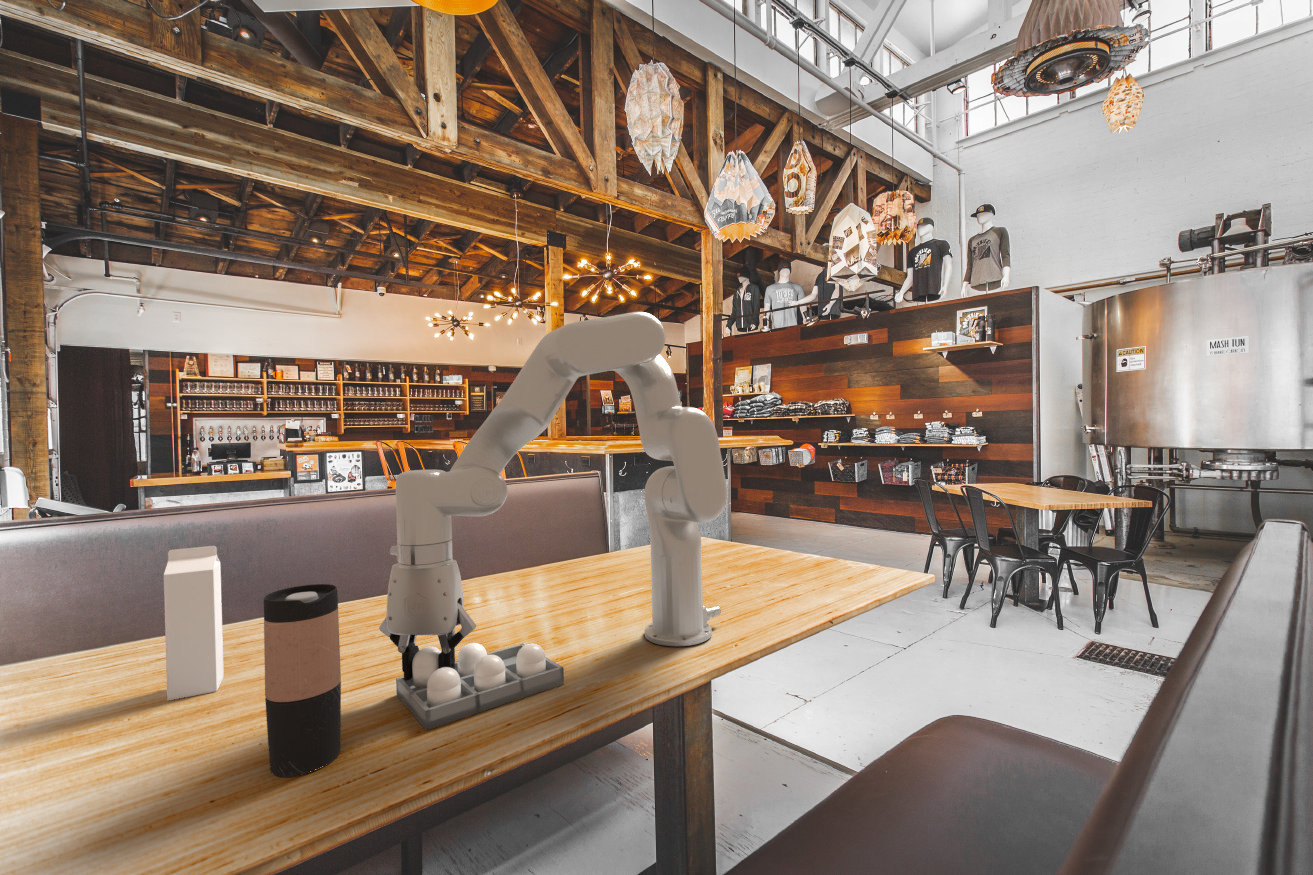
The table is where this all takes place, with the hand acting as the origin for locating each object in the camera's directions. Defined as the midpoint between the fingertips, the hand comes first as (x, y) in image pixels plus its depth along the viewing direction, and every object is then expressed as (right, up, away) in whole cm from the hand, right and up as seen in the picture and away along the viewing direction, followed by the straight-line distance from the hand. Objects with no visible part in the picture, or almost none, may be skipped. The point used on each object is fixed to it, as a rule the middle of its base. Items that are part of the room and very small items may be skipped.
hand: (429, 675), depth 84 cm
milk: (-38, -4, +4) cm, 39 cm away
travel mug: (-8, -3, -16) cm, 18 cm away
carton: (+7, -3, +2) cm, 8 cm away
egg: (0, -1, 0) cm, 1 cm away
